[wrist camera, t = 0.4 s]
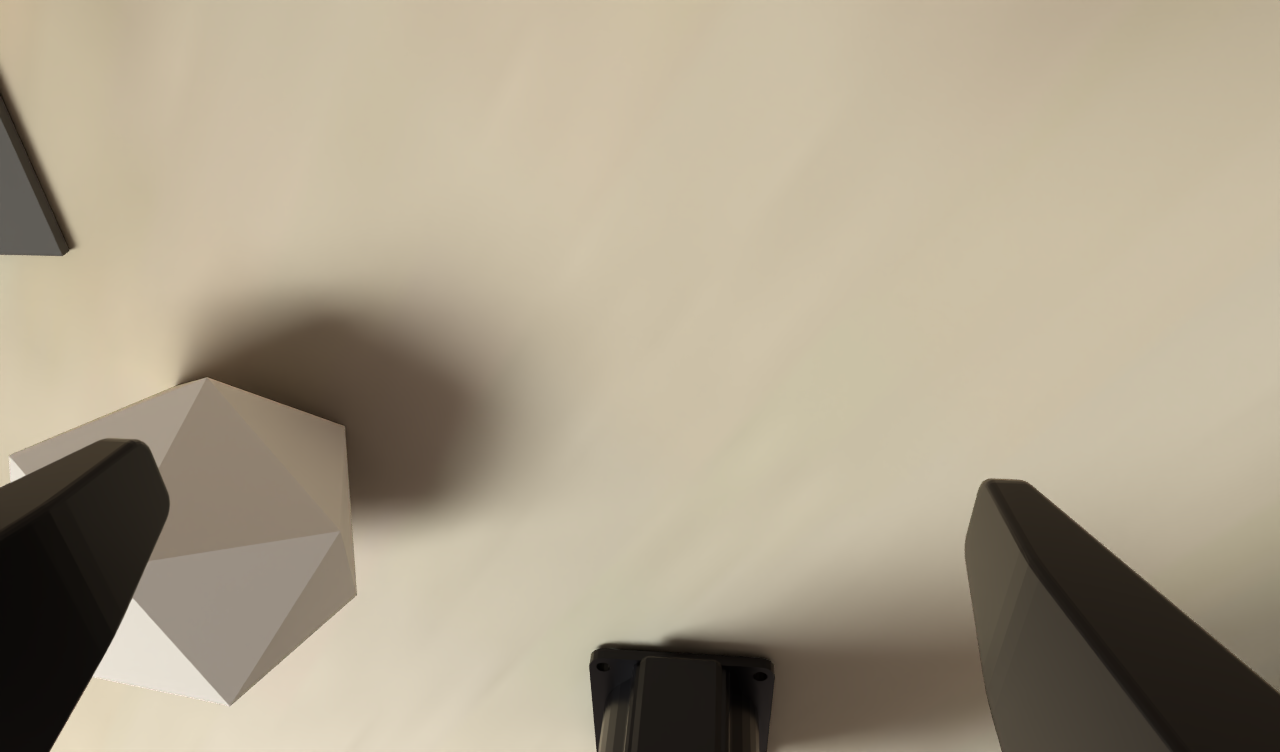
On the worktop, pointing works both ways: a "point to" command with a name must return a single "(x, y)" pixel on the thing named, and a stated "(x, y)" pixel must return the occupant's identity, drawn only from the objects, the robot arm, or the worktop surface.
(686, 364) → the worktop surface
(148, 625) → the die
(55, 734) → the robot arm
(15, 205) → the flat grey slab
